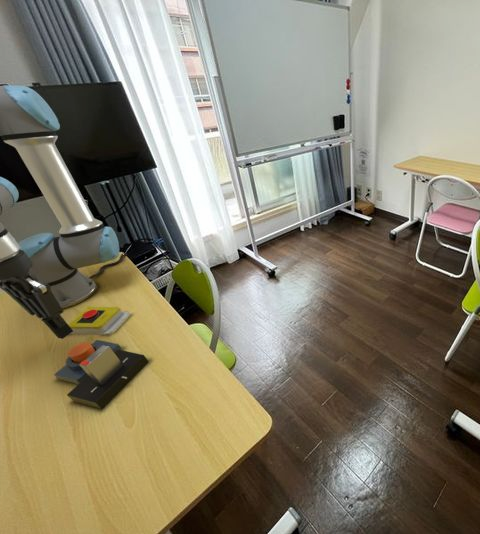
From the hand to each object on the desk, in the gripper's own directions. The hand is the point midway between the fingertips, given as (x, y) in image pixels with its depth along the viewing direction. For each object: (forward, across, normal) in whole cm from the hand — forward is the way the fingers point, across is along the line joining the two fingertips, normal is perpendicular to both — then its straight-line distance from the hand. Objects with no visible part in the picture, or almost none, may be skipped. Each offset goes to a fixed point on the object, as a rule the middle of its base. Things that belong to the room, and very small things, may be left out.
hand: (65, 334), depth 75 cm
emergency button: (+12, -13, +13) cm, 22 cm away
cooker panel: (+12, +11, -3) cm, 16 cm away
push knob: (+8, 0, 0) cm, 8 cm away
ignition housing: (+12, 0, 0) cm, 12 cm away
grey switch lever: (+9, +12, -3) cm, 15 cm away
